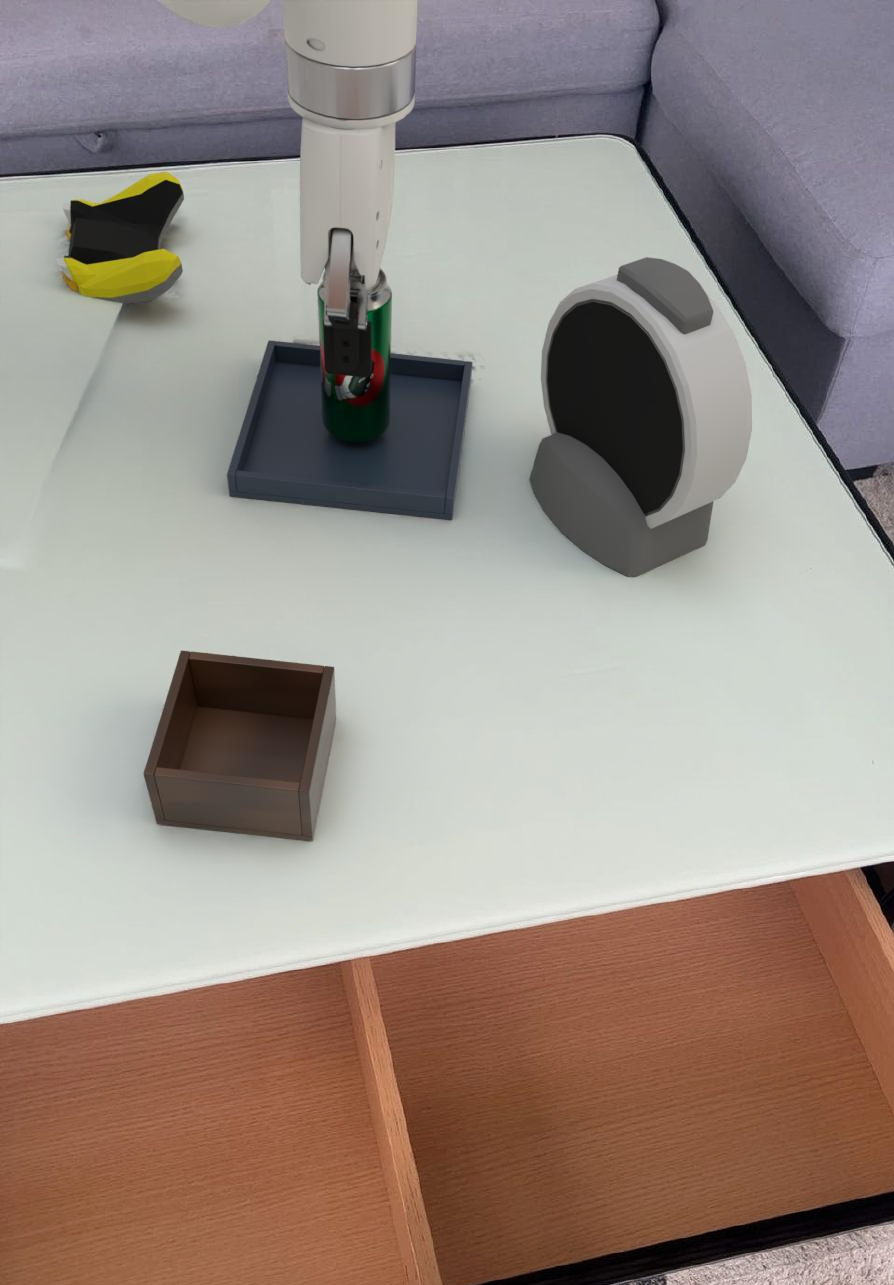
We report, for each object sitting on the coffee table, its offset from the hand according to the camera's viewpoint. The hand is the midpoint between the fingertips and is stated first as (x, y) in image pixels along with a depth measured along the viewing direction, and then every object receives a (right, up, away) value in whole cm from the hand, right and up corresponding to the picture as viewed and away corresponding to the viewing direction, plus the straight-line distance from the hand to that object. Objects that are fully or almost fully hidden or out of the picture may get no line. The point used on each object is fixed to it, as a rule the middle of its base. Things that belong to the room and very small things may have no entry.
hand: (354, 345), depth 83 cm
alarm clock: (+19, -11, +4) cm, 22 cm away
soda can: (0, -4, +6) cm, 7 cm away
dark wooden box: (-5, -30, -12) cm, 33 cm away
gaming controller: (-21, +12, +17) cm, 29 cm away
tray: (0, -5, +6) cm, 8 cm away
